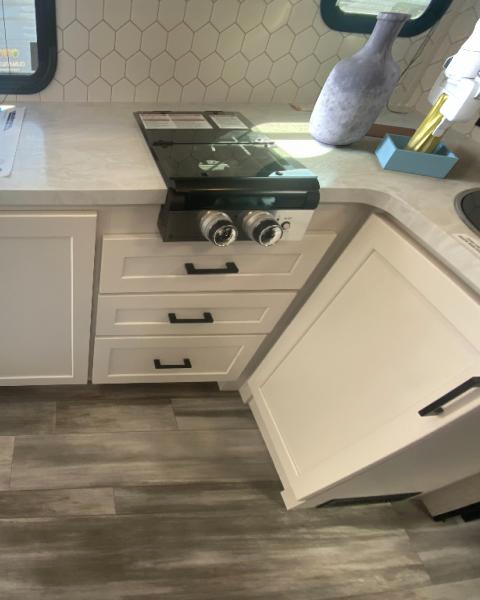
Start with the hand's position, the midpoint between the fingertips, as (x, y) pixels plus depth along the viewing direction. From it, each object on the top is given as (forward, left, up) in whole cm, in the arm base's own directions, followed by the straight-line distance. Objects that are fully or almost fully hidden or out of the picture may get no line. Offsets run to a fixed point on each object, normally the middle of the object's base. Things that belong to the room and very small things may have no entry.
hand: (431, 131), depth 87 cm
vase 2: (0, 0, -6) cm, 6 cm away
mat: (0, -28, -8) cm, 29 cm away
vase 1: (+18, -9, -9) cm, 22 cm away
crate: (0, 0, -9) cm, 8 cm away
